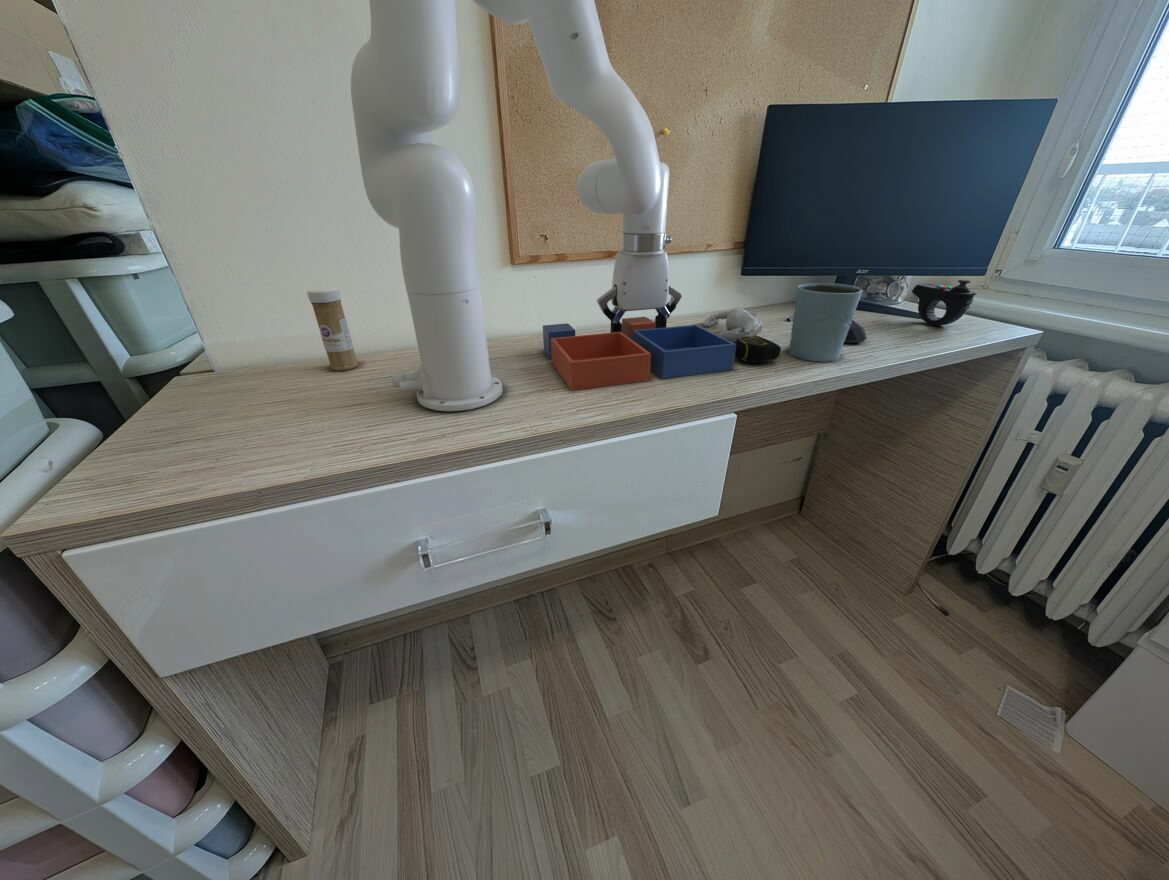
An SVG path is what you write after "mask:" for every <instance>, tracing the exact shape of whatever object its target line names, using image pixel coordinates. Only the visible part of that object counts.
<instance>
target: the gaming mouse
mask: <svg viewBox="0 0 1169 880" xmlns="http://www.w3.org/2000/svg"><path fill="white" fill-rule="evenodd" d="M867 339H868V337H867V333H866V330H865V328H864V327H863V326H862V325H860V324H859V323H858V322H856V321H855V320H853V319H852V322H851V325H850V327H849V330H848V333H847V336H846V339H845V341H844V343H849V344H854V343H862V342H864V341H866V340H867Z"/></svg>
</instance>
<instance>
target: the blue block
mask: <svg viewBox="0 0 1169 880" xmlns="http://www.w3.org/2000/svg"><path fill="white" fill-rule="evenodd" d="M570 336H576V329H575V328H574V327H573V326H572V325H571V324H570V323H566V322H565V323H556V324H546V325H545V324H544V325H542V340H543V341H542V342H543V352H544V353H545V355H546V356H547V357H548V359H549V360H552V358H551V338H560V337H570Z"/></svg>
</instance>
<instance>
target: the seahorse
mask: <svg viewBox="0 0 1169 880" xmlns="http://www.w3.org/2000/svg"><path fill="white" fill-rule="evenodd" d="M758 316H759V313H758V312H756V311H747V309H744V308H740V307H734V308H732V309H731V310H729V309H728V310H722V311H721V312H716V313H715V314H710V316H709V317H707V318H706V319H705V320H704V321H703V322H702V325H703V326H704V327H713V326H714V325H715V326H717V325H718V323H719V321H720V320H725V327H726V330H725V331H723V332H718V333H717V335H718V336H720V337H722V338H725V339H727V340H729V341H731V342H733V343H735V342H736V340H737V339H738V338H739V337H742V336H758V334H759V333H760V332H762V331H763V329H764V327H765V326H764V324H763V322H762V320H761V319H760V318H758Z"/></svg>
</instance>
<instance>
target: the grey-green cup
mask: <svg viewBox="0 0 1169 880" xmlns="http://www.w3.org/2000/svg"><path fill="white" fill-rule="evenodd" d="M795 293H796V294H795V303H794V312H793V317H792V318H793V319H792V324H791V325H792V326H791V333H790V335H791V336H790V337H791V338H790V341H789V346H788V347H789V348H788V353H789V354H790V355H791V356H793V357H795V358H797V359H801V360H804V361H809V362H823V363H824V362H825V363H827V362H828V363H829V362H834V361H837V360H838V359H839V358H840V356H841V353H842V351H843V348H844V343H845V342H844V341H845V339H846V336H847V333H848V330H849V327H850V325H851V322H852V320H853V319H854V315H855V312H856V309H857V308H858V306H859V301H860V299H861V297H862V294H863V289H862V288H861V287H859V286H857V285H856V286H855V285H850V284H845V283H843V284H842V283H833V282H831V283H830V282H810V283H801V284H798V285H797V287H796V292H795Z"/></svg>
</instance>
